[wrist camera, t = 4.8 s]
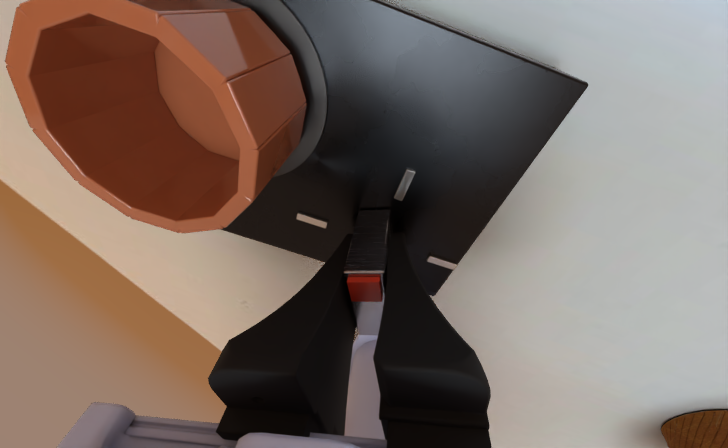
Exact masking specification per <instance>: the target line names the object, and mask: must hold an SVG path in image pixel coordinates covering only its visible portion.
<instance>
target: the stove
mask: <svg viewBox="0 0 728 448" xmlns="http://www.w3.org/2000/svg"><path fill="white" fill-rule="evenodd" d="M282 1H283V2H284V3H285V4H286V5H287V6H288V7H289V8H290V9H291V10H292V11H293V12H294V14H295V15H296V16H297V18H298V19H299V20H300V22H301V23H302V24H303V26H304V27H305V29H306V31H307V32H308V34H309V36H310V37H311V39H312V41H313V43H314V45H315V47H316V50H317V52H318V54H319V56H320V59H321V62H322V66H323V69H324V72H325V77H326V82H327V89H328V114H327V120H326V125H325V128H324V131H323V135H322V137H321V139H320V141H319V143H318V145H317V146H316V148H315V149H314V151H313V152H312V154H311V155H310V156H309V157H308V158H307V159H306V160H305V162H303V163H302V164H301V165H299V166H298V167H297V168H295V169H293V170H292V171H290V172H288V173H285V174H283V175H280V176H275V177H272V179H271V180H270V181H269V182H268V184H267V185H266V186H265V187H264V189H263V190H262V191H261V193H260V194H259V195H258V196H257V198H256V199H255V200H254V201H253V203H251V204H250V205H249V206H248V207H247V208H246V209H245V210H244V211H243V212H242V213H241V214H240V215H239V216H238V217H237V218H236V219H235V220H233V221H232V222H231V223H230V224H229V225H228V226H227V227H225V228H223V229H221V230H224V231H227V232H231V233H234V234H237V235H240V236H243V237H246V238H250V239H253V240H256V241H259V242H262V243H266V244H269V245H272V246H275V247H278V248H282V249H285V250H288V251H291V252H294V253H297V254H301V255H304V256H307V257H310V258H313V259H317V260H320V261H323V262H327V260H328V259H329V258H330V257H331V255H332V254H333V253H334V251H335V250H336V249H337V247H338V246H339V245H340V243H341V242H342V240H343V239H344V238H345V236H346V235H347V234H353V232H354V228H355V224H356V220H357V216H358V212H359V211H360V210H382V209H389V210H390V212H391V222H392V233H398V232H403V233H404V234H405V241H406V245H407V249H408V252H409V255H410V258H411V260H412V263H413V265H414V268H415V270H416V272H417V274H418V276H419V278H420V280H421V282H422V284H423V286H424V287H425V289H426V291H427V292H428V294H429V295H431V296H435V295H436V293H437V292H438V290H439V289H440V288H441V286H442V285H443V284H444V282H445V281H446V280H447V278H448V277H449V275H450V274H451V273H452V271H453V270H454V269H455V268H456V267H457V264H458V263H459V262H460V260H461V259H462V258H463V256H464V255H465V254H466V252H467V251H468V249H469V248H470V247H471V245H472V244H473V243H474V241H475V240H476V238H477V237H478V236H479V234H480V233H481V232H482V230H483V229H484V228H485V226H486V225H487V223H488V222H489V221H490V219H491V218H492V217H493V215H494V214H495V213H496V211H497V210H498V208H499V207H500V206H501V204H502V203H503V202H504V200H505V199H506V197H507V196H508V195H509V193H510V192H511V191H512V189H513V188H514V187H515V185H516V184H517V182H518V181H519V180H520V178H521V177H522V176H523V174H524V173H525V172H526V170H527V169H528V167H529V166H530V165H531V163H532V162H533V161H534V159H535V158H536V156H537V155H538V154H539V152H540V151H541V150H542V148H543V147H544V146H545V144H546V143H547V141H548V140H549V139H550V137H551V136H552V135H553V133H554V132H555V131H556V129H557V128H558V126H559V125H560V124H561V122H562V121H563V120H564V118H565V117H566V115H567V114H568V113H569V111H570V110H571V109H572V107H573V106H574V105H575V103H576V102H577V100H578V99H579V98H580V96H581V95H582V94H583V92H584V91H585V90H586V88H587V87H588V83H587V82H585V81H582V80H580V79H578V78H576V77H574V76H571V75H569V74H567V73H565V72H563V71H561V70H558V69H556V68H553V67H551V66H548V65H546V64H543V63H541V62H538V61H536V60H533V59H531V58H528V57H526V56H523V55H521V54H518V53H516V52H513V51H511V50H508V49H506V48H503V47H501V46H498V45H495V44H493V43H490V42H488V41H485V40H483V39H480V38H478V37H475V36H473V35H470V34H468V33H465V32H463V31H460V30H458V29H455V28H453V27H450V26H448V25H445V24H443V23H440V22H438V21H435V20H432V19H430V18H427V17H425V16H422V15H420V14H417V13H415V12H412V11H410V10H407V9H405V8H402V7H400V6H397V5H395V4H392V3H390V2H387V1H385V0H282Z"/></svg>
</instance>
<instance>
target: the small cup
mask: <svg viewBox="0 0 728 448" xmlns="http://www.w3.org/2000/svg"><path fill="white" fill-rule="evenodd" d="M5 62H6V64H7V65H6V68H7V70H8V73H9V76H10V78H11V81H12V83H13V86H14V88H15V91H16V93H17V96H18V98H19V101H20V103H21V106H22V108H23V111H24V113H25V116H26V118H27V121H28V123H29V126H30V127H31V128H33V132H34V133H35V134H36V135H37V137H38V138H39V139H40V140H41V141H42V142H43V144H44V145H45V146H46V147H47V148H48V149H49V151H50V152H51V153H52V154H53V155H54V156H55V158H56V159H57V160H58V161H59V162H60V163H61V165H62V166H63V167H64V168H65V169H66V170H67V172H68V173H69V174H70V175H71V176H72V177H73V178H74V180H76V181H79V182H78V183H79V184H80V185H82V186H83V187H85V188H86V189H88V190H89V191H90V192H92V193H93V194H95V195H96V196H98V197H99V198H101V199H102V200H104V201H105V202H107V203H108V204H110V205H111V206H113V207H114V208H116V209H117V210H119V211H120V212H122V213H123V214H125V215H126V216H128V217H129V216H130V217H131V218H132V219H135V220H138V221H142V222H145V223H148V224H151V225H155V226H158V227H161V228H164V229H167V230H171V231H174V232H177V233H180V232H181V233H190V232H199V231H208V230H216V229H223V228H225V227H227V226H228V225H229V224H230V223H231V222H232V221H233V220H235V219H236V218H237V217H238V216H239V215H240V214H241V213H242V212H243V211H244V210H245V209H246V208H247V207H248V206H249V205H250V204H251V203H253V201H254V200H255V199H256V198H257V196H258V195H259V194H260V193H261V191H262V190H263V189H264V187H265V186H266V185H267V184H268V182H269V181H270V180H271V179H272V177H273V176H274V175H275V173H276V172H277V171H278V170H279V168H280V167H281V166H282V165H283V163H284V162H285V161H286V160H287V158H288V157H289V156H290V154H291V153H292V152H293V151H294V149H295V148H296V147H297V146H298V144H299V142H300V138H301V133H302V127H303V122H304V117H305V111H306V106H307V104H306V98H305V95H304V92H303V88H302V84H301V80H300V76H299V74H298V71H297V68H296V66H295V63H294V60H293V57H292V55H291V54H290V51H289V50H288V49H287V48H286V46H285V45H284V44H283V43H282V42H281V41H280V39H279V38H278V37H277V36H276V34H275V33H274V32H273V31H272V30H271V29H270V28H269V27H268V26H267V25H266V24H265V23H264V22H263V21H262V20H261V18H260V17H259V16H258V15H257V14H256V13H255V12H254V11H253V10H251V9H250V8H248V7H246V6H243V5H241V4H238V3H235V2H233V1H230V0H28V1H26V2H23V3H21V4H20V5H19V7H17V8H16V12H15V16H14V21H13V26H12V31H11V35H10V40H9V45H8V50H7V54H6V59H5Z"/></svg>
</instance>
